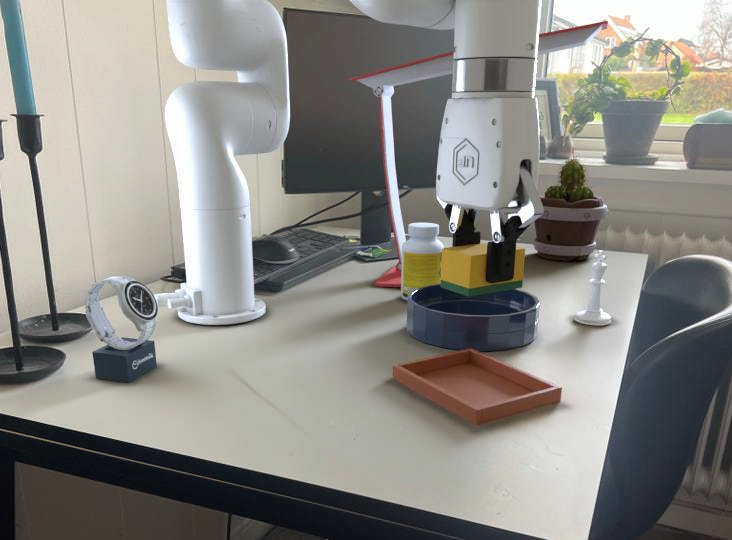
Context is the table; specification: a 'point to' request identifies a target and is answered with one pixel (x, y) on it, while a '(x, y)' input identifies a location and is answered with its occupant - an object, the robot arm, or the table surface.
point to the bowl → (472, 318)
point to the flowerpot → (569, 216)
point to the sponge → (475, 270)
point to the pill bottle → (421, 258)
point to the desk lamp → (430, 69)
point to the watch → (123, 354)
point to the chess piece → (595, 297)
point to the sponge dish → (476, 385)
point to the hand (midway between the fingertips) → (481, 274)
